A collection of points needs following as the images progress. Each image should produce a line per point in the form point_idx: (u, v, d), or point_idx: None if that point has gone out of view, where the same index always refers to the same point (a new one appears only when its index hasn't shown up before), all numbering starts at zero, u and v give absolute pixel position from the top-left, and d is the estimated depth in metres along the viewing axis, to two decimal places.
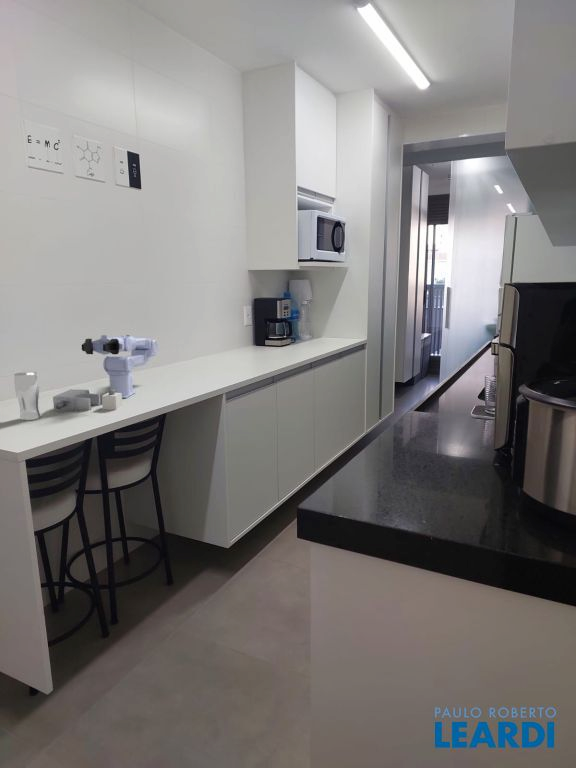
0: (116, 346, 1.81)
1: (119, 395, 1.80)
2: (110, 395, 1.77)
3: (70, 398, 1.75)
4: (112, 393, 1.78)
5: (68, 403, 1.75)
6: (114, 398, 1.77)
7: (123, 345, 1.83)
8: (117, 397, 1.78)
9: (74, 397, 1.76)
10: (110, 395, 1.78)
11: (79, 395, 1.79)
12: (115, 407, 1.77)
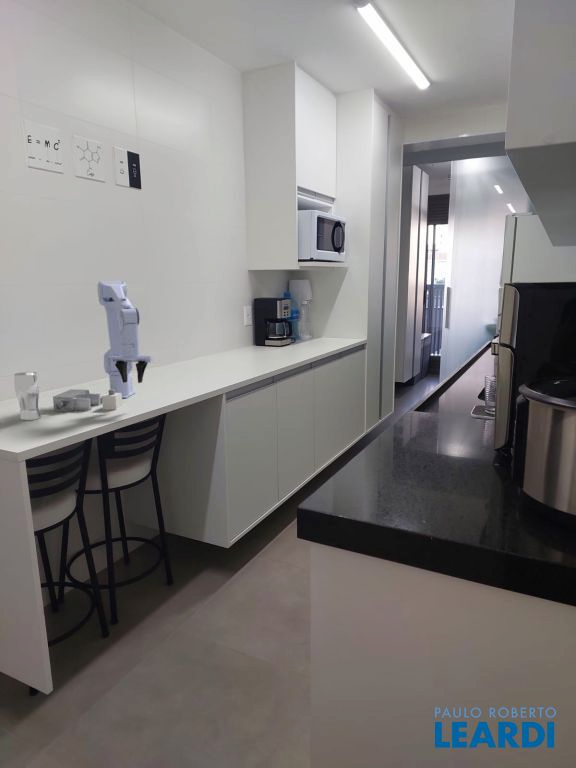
0: None
1: (119, 395, 1.80)
2: (110, 395, 1.77)
3: (70, 398, 1.75)
4: (112, 393, 1.78)
5: (68, 403, 1.75)
6: (114, 398, 1.77)
7: (151, 359, 1.75)
8: (117, 397, 1.78)
9: (74, 397, 1.76)
10: (110, 395, 1.78)
11: (79, 395, 1.79)
12: (115, 407, 1.77)
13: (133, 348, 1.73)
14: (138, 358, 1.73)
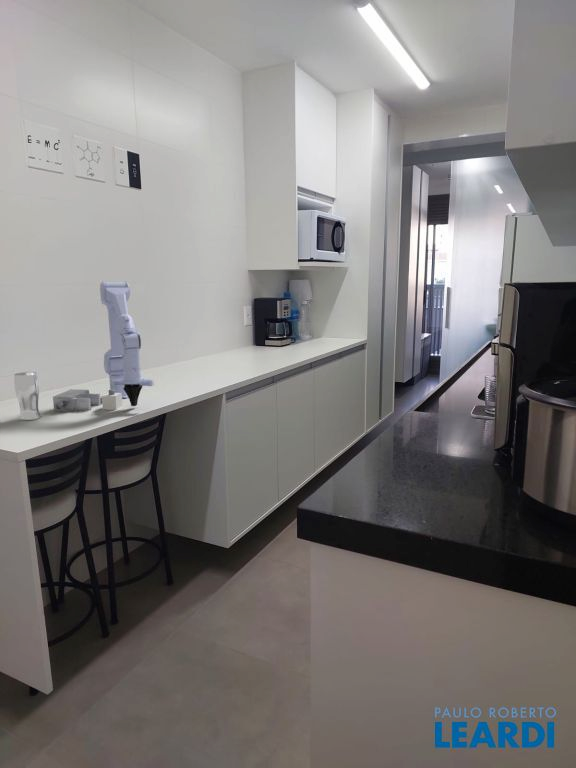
0: None
1: (119, 395, 1.80)
2: (110, 395, 1.77)
3: (70, 398, 1.75)
4: (112, 393, 1.78)
5: (68, 403, 1.75)
6: (114, 398, 1.77)
7: (152, 382, 1.76)
8: (117, 397, 1.78)
9: (74, 397, 1.76)
10: (110, 395, 1.78)
11: (79, 395, 1.79)
12: (115, 407, 1.77)
13: (135, 372, 1.74)
14: (139, 382, 1.75)
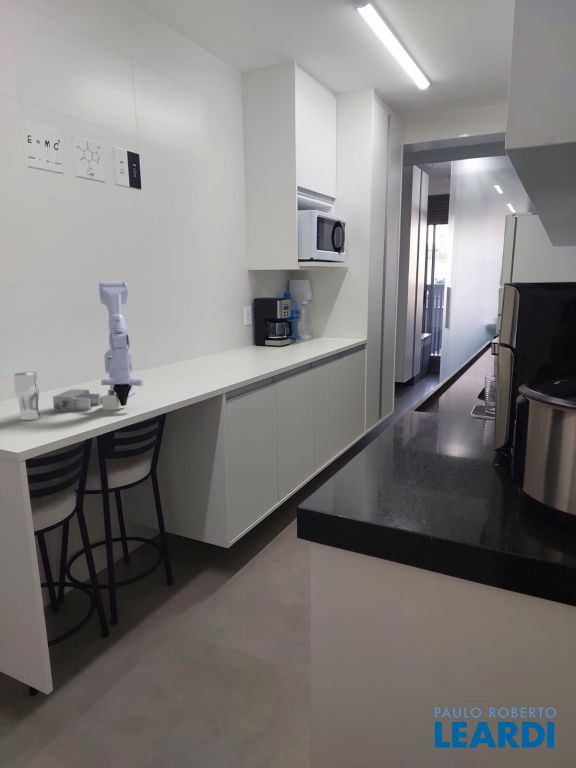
0: None
1: None
2: (110, 395, 1.77)
3: (70, 398, 1.75)
4: (112, 393, 1.78)
5: (68, 403, 1.75)
6: (114, 398, 1.77)
7: (141, 382, 1.77)
8: (116, 397, 1.78)
9: (74, 397, 1.76)
10: (110, 395, 1.77)
11: (79, 395, 1.79)
12: (115, 407, 1.77)
13: (124, 372, 1.75)
14: (129, 382, 1.75)
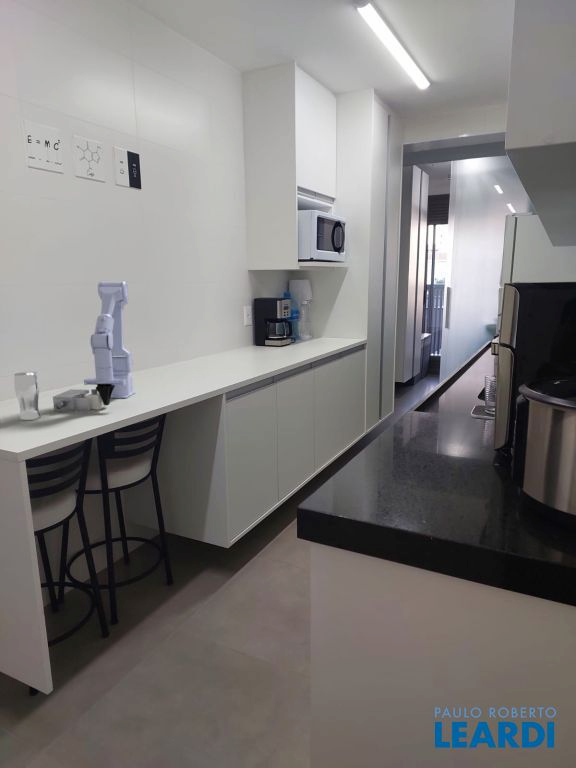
0: None
1: None
2: (93, 394, 1.78)
3: (70, 398, 1.75)
4: (95, 392, 1.79)
5: (68, 403, 1.75)
6: (96, 397, 1.77)
7: (124, 382, 1.77)
8: (99, 397, 1.78)
9: (74, 397, 1.76)
10: (93, 394, 1.78)
11: (79, 395, 1.79)
12: (98, 406, 1.78)
13: (106, 372, 1.75)
14: (111, 381, 1.76)
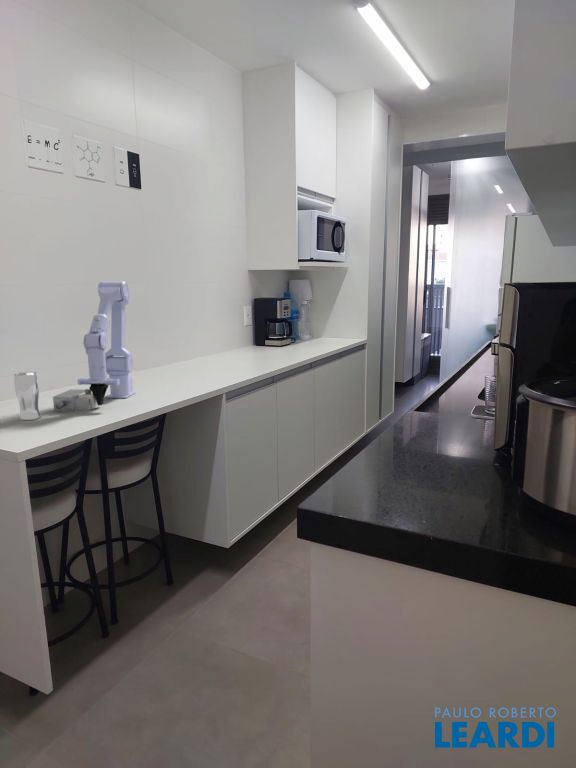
0: None
1: None
2: (86, 394, 1.78)
3: (70, 398, 1.75)
4: (88, 392, 1.79)
5: (68, 403, 1.75)
6: (90, 397, 1.77)
7: (117, 382, 1.78)
8: (93, 396, 1.78)
9: (74, 397, 1.76)
10: (86, 394, 1.78)
11: None
12: (91, 406, 1.78)
13: (100, 371, 1.76)
14: (105, 381, 1.76)
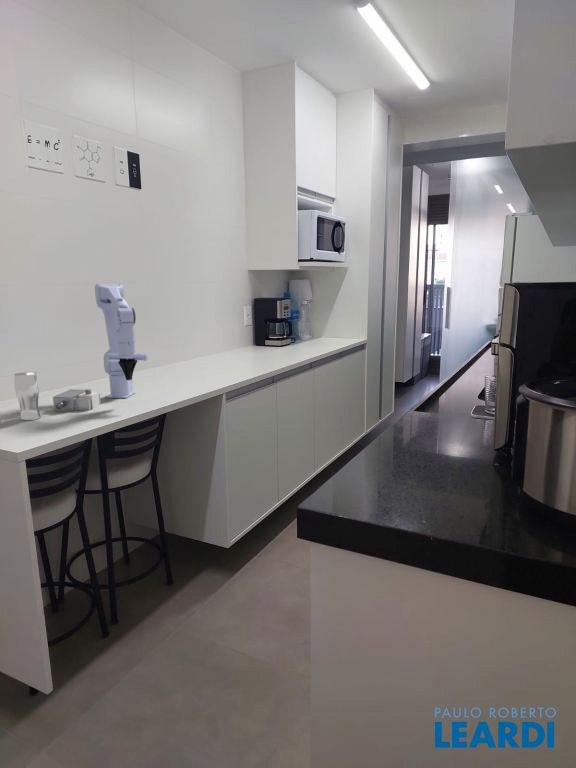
0: None
1: (96, 395, 1.80)
2: (86, 394, 1.78)
3: (70, 398, 1.75)
4: (89, 393, 1.79)
5: (68, 403, 1.75)
6: (90, 398, 1.77)
7: (146, 357, 1.79)
8: (93, 397, 1.78)
9: (74, 397, 1.76)
10: (86, 394, 1.78)
11: None
12: (91, 406, 1.78)
13: (129, 346, 1.77)
14: (134, 356, 1.78)
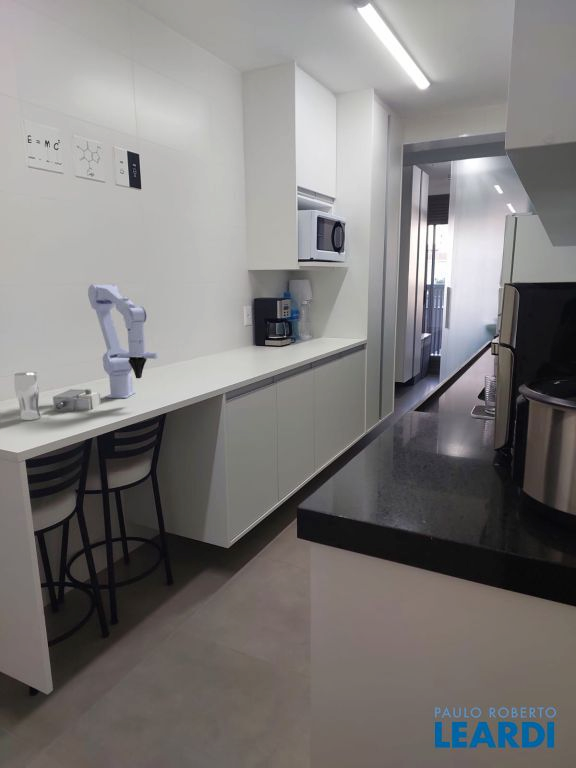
0: (142, 360, 1.84)
1: (96, 395, 1.80)
2: (86, 395, 1.78)
3: (70, 398, 1.75)
4: (88, 393, 1.79)
5: (68, 403, 1.75)
6: (90, 398, 1.77)
7: (156, 355, 1.83)
8: (93, 397, 1.78)
9: (74, 397, 1.76)
10: (86, 394, 1.78)
11: None
12: (91, 406, 1.78)
13: (139, 345, 1.81)
14: (144, 355, 1.81)
